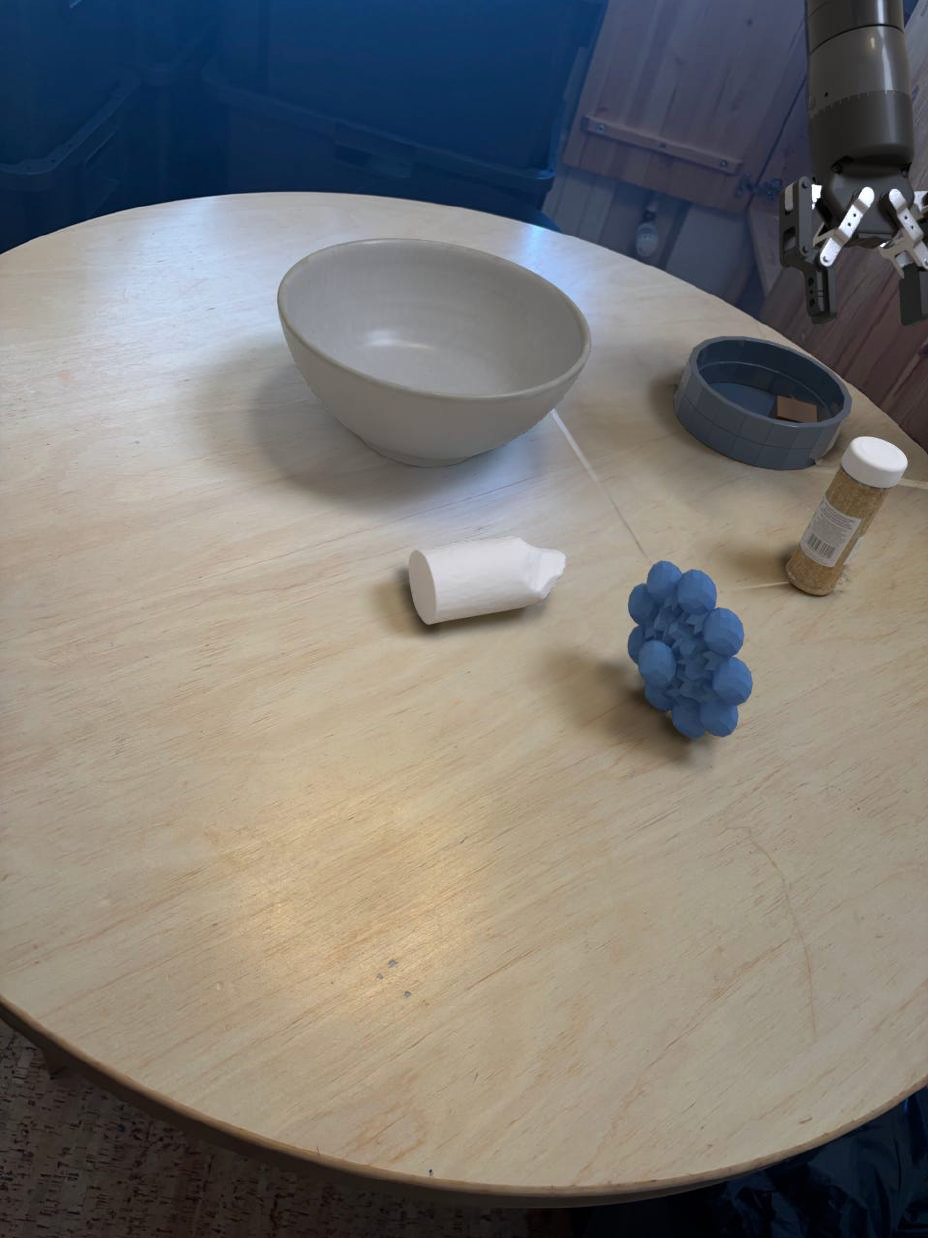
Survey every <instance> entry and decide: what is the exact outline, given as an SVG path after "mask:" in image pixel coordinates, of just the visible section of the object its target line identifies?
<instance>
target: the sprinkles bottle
mask: <svg viewBox="0 0 928 1238" xmlns="http://www.w3.org/2000/svg"><path fill="white" fill-rule="evenodd" d="M907 458H908V457H907V456H906V455H905V453H904V452H903V451H902V450H901V449H900V448H898V447H897V446H896V445H894V444H893V443H892V442H891V443H890V442H888V441H887V440H884V439H881V438H879V437H874V436H858V437H856V438H854V439H852V440H851V441H850V442H849V444H848V446H847V448H846V450H845V451H844V453H843V455H842V457H841V461H840V465H839V468H838V470H837V472H836V473H835V475H834V477H833V479H832V481H831V483H830V484H829V486H828V488H827V490H825V492H824V494H823V496H822V497H821V500H820V502H819V503H818V505H817V507H816V508H815V511H814V513H813V515H812V517H811V518H810V520H809V522H808V524H807V526H806V528H805V530H804V532H803V533H802V535H801V537H800V540H799V543H798V545H797V546H796V549H795V550H794V552H793V553H792V556H791V558H790V559H789V560H788V561H787V562H786V564H785V567H784V569H785V573H786V576H787V577H788V579H789V582H790V583H791V584H792V585H794V586H795V587H796V588H798V589H799V590H801V591H802V592H804V593H807V594H810V595H816V596H825V595H828V594H830V593H832V592H833V591H834V590H835V589H836V587H837V585H838V581H839V579H840V577H841V576H842V574H843V573H844V571H845V569H846V567H847V566H848V564H849V563H850V562H851V561H852V559H853V557H854V556H855V554H856V552H857V550H858V549H859V547H860V545H861V543H862V542H863V540H864V538H865V536H866V534H867V531H868V529H869V528H870V527H871V525H872V523H873V521H874V519H875V518H876V516H877V514H878V512H879V511H880V509H881V508H882V506H883V504H884V503H885V502H884V501H886V499H887V497H888V495H889V494H890V492H891V490H892V489H893V488H894V487H895V486H897V485H898V483H899V482H900V479H901V478H902V476H903V475H904V473H905V471H906V470H907V468H908V459H907Z"/></svg>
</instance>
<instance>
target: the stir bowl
mask: <svg viewBox="0 0 928 1238" xmlns="http://www.w3.org/2000/svg"><path fill="white" fill-rule="evenodd" d="M777 395H779V396H782V397H786V398H790V399H792V397H793V398H795V400H797V401H801V402H805V403H809V404H812V405H816V408H817V422H813V423H795V422H788V421H782V420H776V419H772V418H769V417H768V415H769V413H770V410H771V408H772V406H773V404H774V402H775V399H776V397H777ZM672 402H673V407H674V412H675V415H676V417H677V419H678V421H680V423H681V424H682V425H683V427H684V428H685V429H686V430H687V432H689V433H690V434H691V435H692V436H694V437H695V438H696V439H697V440H698V441H699V442H700V443H702V444H703V445H705V446H706V447H708V448H710V449H712V450H714V451H716V452H717V453H720V454H722V455H723V456H725V457H727V458H730V459H733V460H735V461H739V462H741V463H745V464H747V465H750V466H753V467H757V468H763V469H770V470H777V471H785V470H787V471H788V470H804V469H807V468H810V467H812V466H815V465H817V462H816V460H817V459H820V458H823V457H824V456H825V455H826V454H828V452H829V451H830V450H831V449H832V448H833V447H834V445H835V443H836V441H837V439H838V438H839V435H840V433H841V431H842V430H843V428H844V426H845V424H846V422H847V420H848V418H849V416H850V414H851V412H852V405H853V398H852V396H851V394H850V392H849V389H848V387H847V385H846V384H845V382H843V381H842V380H841V379H840V378H839V376H837V374H836V373H835V372H834V371H832V370H831V369H830V368H828V367H827V366H825V365H824V364H823V363H821V362H820V361H818V360H817V359H815V358H813V357H812V356H809V355H807V354H805V353H803V352H801V351H799V350H797V349H795V348H793V347H791V346H788V345H784V344H781V343H779V342H774V341H772V340H768V339H762V338H758V337H752V336H746V335H720V336H715V337H711V338H708V339H707V338H706V339H704V340H703V341H701V342H700V343H698V344H696V345H695V346H693V347H692V349H691V352H690V354H689V357H688V359H687V362H686V365H685V367H684V370H683V373H682V376H681V378H680V381H679V384H678V387H677V389H676V392H675V395H674V397H673V401H672Z"/></svg>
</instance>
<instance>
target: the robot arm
mask: <svg viewBox="0 0 928 1238" xmlns="http://www.w3.org/2000/svg"><path fill="white" fill-rule="evenodd" d="M903 2H904V1H903V0H803V7H804V15H803V17H804V22H803V25H804V27H803V29H804V42H805V43H804V44H805V45H804V46H805V58H806V60H805V61H806V78H805V89H804V90H805V91H804V93H805V95H804V96H805V98H804V99H805V100H804V101H805V112H806V113H805V114H806V130H807V147H808V161H809V162H808V163H809V177H808V176H806V175H805V176H804V175H803V176H801V177H799V178H797V180H795V181H793V182H792V183H791V184H789V185H788V186H786V187H785V188H784V189H782V190H780V192H779V193H778V250H779V251H778V254H779V255H778V258H779V259H778V260H779V263H780V265H781V266H782V267H783V268H786V269H788V268H794V269H796V270H798V271H799V272H800V274H801V275H802V276H803V278H804V291H805V292H804V293H805V294H804V295H805V302H806V303H805V307H806V313H807V315H808V317H810V320H811V324H812V325H825V324H827V323H829V322H832V321H834V320H836V319H837V317H838V314H839V310H838V294H837V277H836V268H834V267H832V268H831V266H832V265H833V263H834V261H835V260H836V258H837V257H838V254H839V253H840V251H841V250H842V248H844V249H845V248H846V249H849V248H853V247H856V246H858V247H859V248H860V247H861V248H863V249H870V250H871V249H876V250H877V251H878V252H877V253H879V255H880V256H881V257H882V258H883V259H885V260H889V261H890V263H891V264H892V265H893V267H894V268H895V270H896V272H897V274H899V276H900V277H901V279H899V280H898V294H899V295H898V296H899V311H900V312H899V313H900V314H899V315H900V323H901V325H902V326H904V327H912V326H915V325H918V324H921V323H924V322H926V321H927V320H928V190H914V188H913V186H912V184H911V181H910V177H909V175H910V174H909V173H910V170H911V167H912V164H913V162H914V160H915V157H916V145H915V144H916V143H915V127H914V111H913V109H914V108H913V95H912V76H911V65H910V64H911V63H910V59H909V55H908V50H907V45H906V38H905V37H906V36H905V23H904V22H905V20H904V6H903V5H904V4H903ZM813 210H815V212H816V213H817V215H818V216H819V218H820V219H821V221H822V223H820V226H819V228H818V229H817V231H816V233H815V235H814V232H813V231H814V229H813V228H814V227H813V226H814V225H813V224H814V223H813V221H814V219H813V215H814V214H813ZM899 231H900V232H901V234H902V237H900V238H898V239H894V238H895V237H896V236H897V235H898V233H899ZM907 253H908V254H909V255H910V257H911V258H912V259H913V260H911V258H910V257H909V255H908V254H907Z"/></svg>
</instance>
